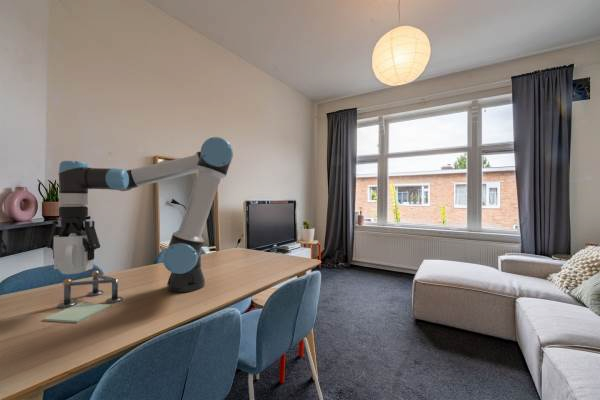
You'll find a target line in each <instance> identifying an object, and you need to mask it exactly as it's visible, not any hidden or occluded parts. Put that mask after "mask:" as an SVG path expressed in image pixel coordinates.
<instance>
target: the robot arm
mask: <svg viewBox="0 0 600 400" xmlns="http://www.w3.org/2000/svg"><path fill="white" fill-rule="evenodd" d="M233 157H234V151H233V147H232V146H231V144H230V143H229V141H228V140H227V139H225V138H223V137H219V136H214V137H210V138H207V139H205V140H204V141H203V143H202V145H201V146H200V151H197V152H195V154H193V155H190V156H185V157H181V158H177V159H173V160H172V159H171V160H167V161H163V162H159V163H154V164H150V165H145V166H142V167H141V166H140V167H137V168H132V169H128V170H125V169H122V168H115V167H113V168H108V167H107V168H103V167H96V168H95V167H89V164H88V162H84V161H77V160H62V161H60V163H59V166H58V167H59V168H58V173H57V174H58V205H59V207H58V217H59V218H61V220H53V221H52V229H51V232H50V236H49V237H48V238H49V239H48V242H47V245H46V247H47V249H51V250H52V259H53V270H59V269H58V267H57V265H56V262H55V258H54V246H53V245H54V236H57V235H59V236H58V237H68V236H69V235H70V234H74V233H75V234H76V235H78V236H85V235H87V238H83V246H84V247H85V249H86V250H85V251H84V271H85V272H87V271H89V270H92V269H94V260H95V255H94V251H95V252H96V249H100V248H101V244H100V241H99V238H98V235H97V231H96V229H95V220H86V217H88V216H89V207H88V206H87V205H88V204H89V203H88V202H89V201H88V200H89V199H88V197H89V194H88V193H89V190H112V191H114V190H115V191H120V192H126V191H127V192H128V191H130V190H132V189H134V188H139V187H142V186H147V185H151V184H154V183H159V182H163V181H168V180H171V179H176V178H180V177H184V176H188V175H193V174H197V173H198V174H197V176H196V180H195V183H194V185H193V189H192V191H191V194H190V196H189V200H188V202H187V205H186V208H185V211H184V214H183V217H182V219H181V222H180V225H179V228H178V229H177V230H176V231H175V232H174V231H173V233H172V235H171V238H170V242H169V244H168V247H167V248H166V249H165V251H164V253H163V257H162V262H163V265H164V267H165V268H166V269H167V270H168V271H169V272H170V275H169V278H168V281H167V285H166V289H167V291H169V292H171V293H189V292H192V291H197V290H200V289H202V288H203V287H204V286H205V285H206V279H205V276H204V273H203V270H202V248H203V244H204V242H205V239H204V238H203V236H202V235H203V232H204V229H205V226H206V223H207V222H208V221H207V220H208V218H209V215H210V211H211V208H212V206H213V203H214V200H215V197H216V194H217V191H218V188H219V185H220V182H221V180H222V179H224V178H225V177H226V176H227V174H228V171H229V167H230V165H231V164H232V163H231V162H232V159H233ZM89 246H90V247H89ZM86 270H87V271H86Z"/></svg>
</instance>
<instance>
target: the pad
mask: <svg viewBox="0 0 600 400" xmlns="http://www.w3.org/2000/svg"><path fill="white" fill-rule="evenodd" d="M111 306H112V305H111V304H105V303H104V304H102V303H101V304H99V303H85V302H84V303H83V302H79V303H77V304H76V305H74V306H71V307H67V308H64V309H63V310H62V309H61V310H60V311H58V312H55V313H52V314H50V315H48V316H45V317H43V318H42V321H43V322H59V323H73V324H79V323H80V322H82V321H84V320H86V319H88V318H90V317H92V316H95V315H97V314H99V313H100V312H103V311H105V310H107V309H108V308H111Z"/></svg>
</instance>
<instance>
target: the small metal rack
mask: <svg viewBox="0 0 600 400" xmlns="http://www.w3.org/2000/svg"><path fill="white" fill-rule="evenodd" d="M91 276H92V280H83V281H73V280H72V279H71V278H66V279H64V280H63V282H62V285H63V302H61V303H59V304H57V309H67V308H69V307H72V306H74V305H77V304H78V302H77V301H76V300H72V298H71V297H72V295H71V293H72V292H71V291H72V287H73V286H74V287H75V286H85V285H92V290H91V291H89V292H87V294H86V295H87V297H97V296H100V295H103V294H104V290H102V289H100V290H99V284H111V297H109V298H107V299H106V300H105V302H106V303H107V304H115V303H120V302H121V301H123V300H124V298H123V296H121V295H120V296H119V293H118V292H119V278H115V277H111V276H107V275H103V274H100V271H99V270H93V271H92V273H91ZM102 293H103V294H102Z"/></svg>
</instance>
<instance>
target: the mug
mask: <svg viewBox="0 0 600 400" xmlns="http://www.w3.org/2000/svg"><path fill="white" fill-rule="evenodd" d="M58 236H59V235H57V236H54V243H53V244H54V245H53V246H54V258H55V262H56V265H57V267H58V269H57V270H59V272H60V273H61V274H63V275H75V274H81V273H84V272H88V270H86V271H84V251H85V250H86V249H85V247H84V246H83V238H87V235H85V236H78V235H76V234H75V233H71V234H70V235H69V236H68V237H58ZM89 247H90V246H89ZM95 255H96V250H95V251H94V256H95Z"/></svg>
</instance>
